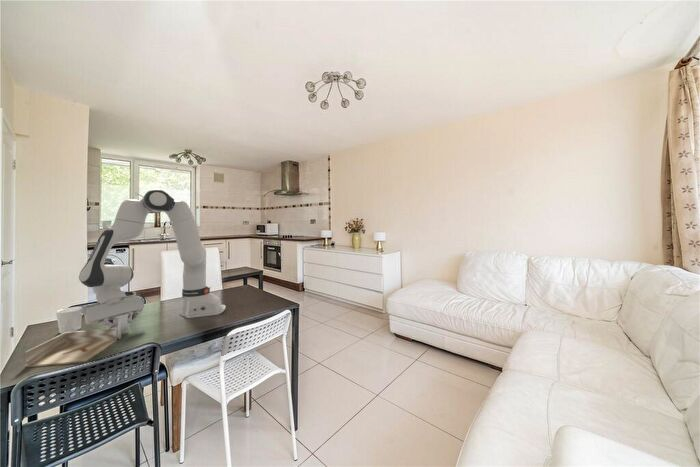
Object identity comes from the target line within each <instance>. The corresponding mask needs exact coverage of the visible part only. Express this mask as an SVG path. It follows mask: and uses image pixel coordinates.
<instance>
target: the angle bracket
mask: <svg viewBox="0 0 700 467" xmlns="http://www.w3.org/2000/svg"><path fill="white" fill-rule="evenodd" d="M113 323H114V325H115V326H114V328H112V329H116V340H121V339H122V335H125V334H129V323H128V314H123V315H119V316H116V317H113Z"/></svg>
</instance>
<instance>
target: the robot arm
mask: <svg viewBox="0 0 700 467" xmlns="http://www.w3.org/2000/svg"><path fill="white" fill-rule="evenodd" d="M162 212H163V213H165V215H166V216H167V217H168V219H169V223H170V225H171V228H172V231H173V233H174V236H175V237H174V238H175V241H176V246H177V249H178V253H179V256H180V261H181V262H182V263H183V271H182V290H181V291H182V292H181V296H182V306H181V311H180V316H182V317H185V318H186V319H194V318H199V317H201V318H202V317H208V316H217V315H220V314H222V313H223V312H224V311H226V308H227V307H226V305H225V304H222V301H221V298H220V297H219V296H217V295H216V294H214V293H211V289H212V288H211V286H209V287H208V286H207V249H206V247H205V246H204V245H203V244H202V241H201V237H200V233H199V229H198V226H197V224H196V221H195V218H194V215H193V212H192V210H191V208H190V206H189V204H188V203H187V202H186V201H184V200H175V199H174V198H173V197H172V196H171V195H170V194H168V193H167V192H166V191H164V190H163V189H156V188H153V189H151V190H148V191H147V192H145V194H144V195H143V197H142V198H141V199H129V198H128V199H125V200H123V201H122V202H121V204H120V205H119V207H118V210H117V212H116V214H115V219H114V221H113V223H112V225H111V226H110V227H109V228H108V229H104V230H103V231H102V233H101V234H100V235H99V238H98V240H97V241H96V243H95V245H94V247H93V249H92V252H91V253H90V255H89V258H88V260H87V261H86V263H85V264H84V266H83V268H82V269H81V270H80V272H79V276H78V279H79V281H80V283H82V284H83V286H86V287H88V288H91V289H92V291H93V294H95V295H96V296H95V299H96V303H91V304H87V305H84V306H83V307H82V309H81V312H82V314H83V315H84V322H85V324H86V325H87V326H93V325H97V324H99V323H102V322H103V325H105V326H107V327H108V329H113V328H114V326H115V325H114V323H111V322H109V321H108V320H112V319H113V317H116V316H119V315H123V314H128V317H129V316H130V317H129V318H128V324H131V323H133V315H134V314H137V313H141V312H143V309H144V308H145V304H144V302H143V300H142V299H141V297H139V295H138V296H137V292H136V291H126V290H125V291H124V290H123V291H122V290H121V288H124V286H126V285H127V284H128V283H130V282H131V281H132V279H133V278H134V271H133V268H132V267H131V266H130V265H128V264H105V262H106V259H107V258H108V255H109V253H110V251H111V249H112V247H114V246H115V245H116V244H118V243H121V242H125V241H131V240H134V239H136V238H138V237H139V236H141V235H142V234H143V231H144V228H145V224H146V219H147V216H148V215H149V214H159V213H162Z"/></svg>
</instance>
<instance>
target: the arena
mask: <svg viewBox="0 0 700 467" xmlns="http://www.w3.org/2000/svg"><path fill="white" fill-rule="evenodd" d="M115 342H117V338H116V329H113V328H110V329H109V328H107V329H106V328H105V329H102V328H101V329H91V330H89V329H88V330H77V331H72V332H64V333H60V334H59V335H56V336H55V337H52V338H51V339H48V340H46V341H44V342H42V343H40V344H38V345H36V346H34V347H32V348H30V349H27V350H26V351H24V352H23V357H24V368H33V367H44V366H46V367H47V366H55V365H56V366H57V365H67V364H78V363H86V362H88V361H89V360H91V359H92V358H93V357H95V356H97V355H98V354H99V353H101V352H102V351H104V350H106V349H107V348H108V347H110V346H111V345H113V344H115Z"/></svg>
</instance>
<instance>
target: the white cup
mask: <svg viewBox="0 0 700 467" xmlns="http://www.w3.org/2000/svg"><path fill="white" fill-rule="evenodd" d="M82 308H83V307H81V306H73V307H66V308H63V309H60V310H59V309H58V310H57V311H56V312H55V313H56V319H57V321H56V322H57V326H58V332H59V333H60V334H62V333H64V332H72V331H80V329H81V328H82V318H83V317H82V312H81V309H82Z"/></svg>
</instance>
